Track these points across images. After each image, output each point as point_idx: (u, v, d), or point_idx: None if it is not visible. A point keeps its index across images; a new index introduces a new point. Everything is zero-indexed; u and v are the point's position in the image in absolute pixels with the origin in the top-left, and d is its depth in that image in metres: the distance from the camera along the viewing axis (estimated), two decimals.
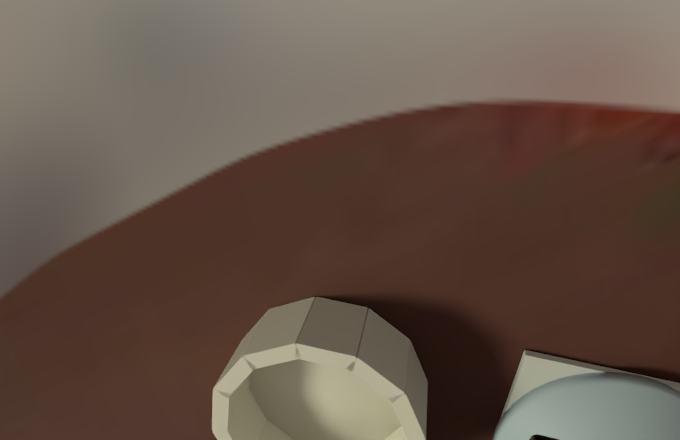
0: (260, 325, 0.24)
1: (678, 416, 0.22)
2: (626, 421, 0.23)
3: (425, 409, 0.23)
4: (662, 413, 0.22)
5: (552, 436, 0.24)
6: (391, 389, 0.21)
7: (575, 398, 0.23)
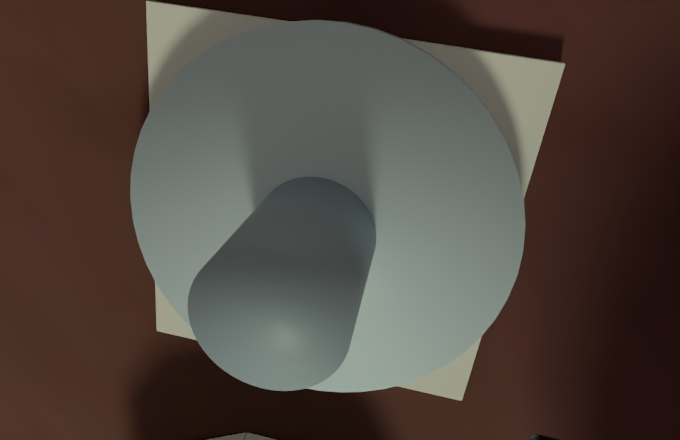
0: None
1: (168, 139, 0.13)
2: (202, 214, 0.13)
3: None
4: (170, 164, 0.13)
5: None
6: None
7: (180, 287, 0.14)
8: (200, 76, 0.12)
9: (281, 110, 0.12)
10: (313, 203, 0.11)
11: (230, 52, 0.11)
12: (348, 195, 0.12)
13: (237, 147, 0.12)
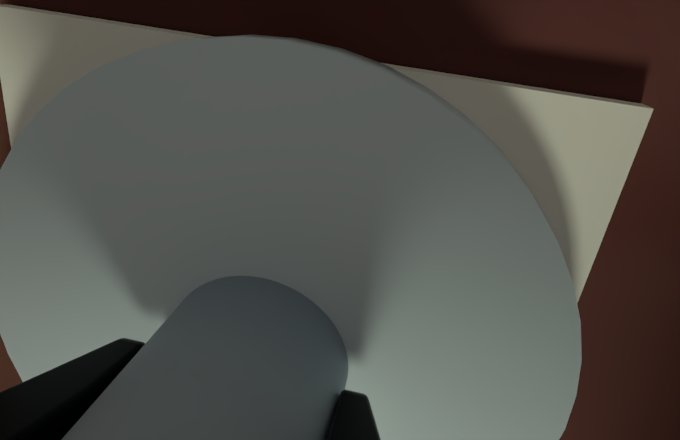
0: None
1: (31, 216, 0.08)
2: (91, 320, 0.09)
3: None
4: (39, 250, 0.09)
5: None
6: None
7: None
8: (67, 124, 0.07)
9: (195, 177, 0.07)
10: (235, 343, 0.06)
11: (108, 87, 0.07)
12: (302, 310, 0.08)
13: (133, 231, 0.08)
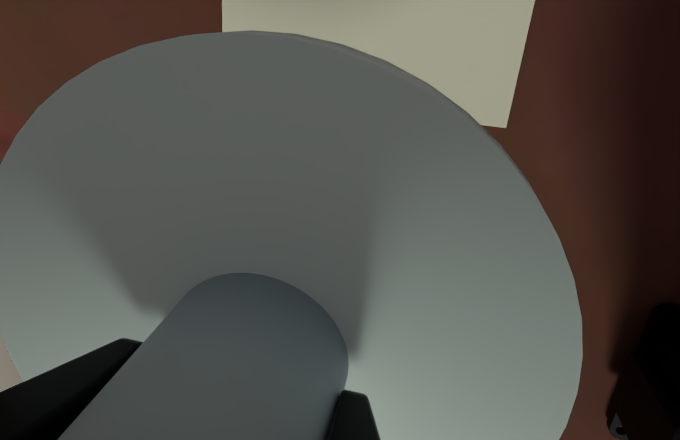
0: None
1: (30, 212, 0.08)
2: (91, 318, 0.09)
3: None
4: (38, 247, 0.09)
5: None
6: None
7: None
8: (67, 120, 0.07)
9: (194, 174, 0.07)
10: (235, 339, 0.06)
11: (108, 83, 0.07)
12: (302, 306, 0.08)
13: (133, 228, 0.08)
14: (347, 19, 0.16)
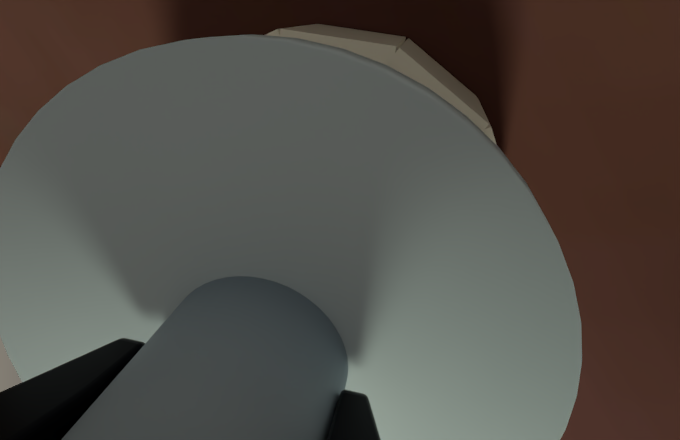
0: None
1: (30, 216, 0.08)
2: (91, 321, 0.09)
3: None
4: (38, 250, 0.09)
5: None
6: None
7: None
8: (67, 124, 0.07)
9: (194, 178, 0.07)
10: (235, 344, 0.06)
11: (108, 87, 0.07)
12: (302, 310, 0.08)
13: (133, 231, 0.08)
14: None
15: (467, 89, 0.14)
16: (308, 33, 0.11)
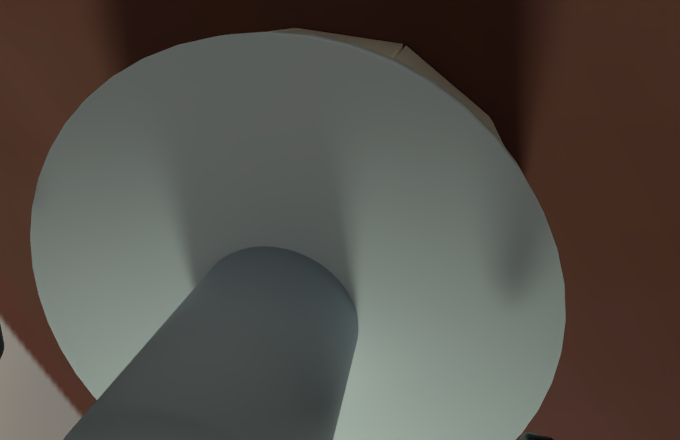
0: None
1: (74, 193, 0.09)
2: (126, 290, 0.10)
3: None
4: (80, 225, 0.10)
5: None
6: None
7: (105, 377, 0.11)
8: (111, 111, 0.08)
9: (223, 158, 0.08)
10: (263, 298, 0.07)
11: (149, 77, 0.08)
12: (318, 275, 0.09)
13: (167, 206, 0.09)
14: None
15: (478, 108, 0.11)
16: None
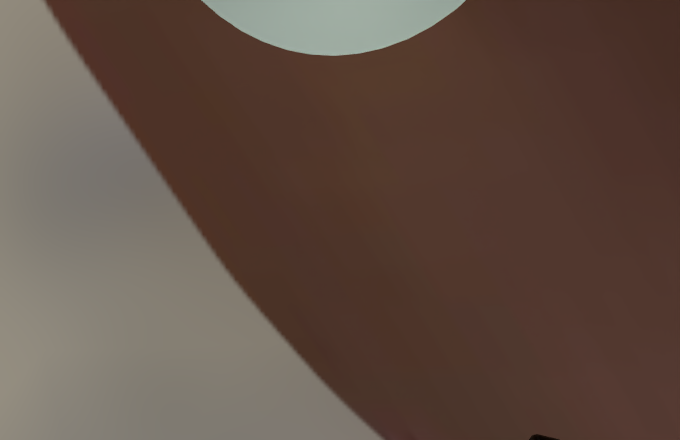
0: None
1: None
2: None
3: None
4: None
5: None
6: None
7: None
8: None
9: None
10: None
11: None
12: None
13: None
14: None
15: None
16: None
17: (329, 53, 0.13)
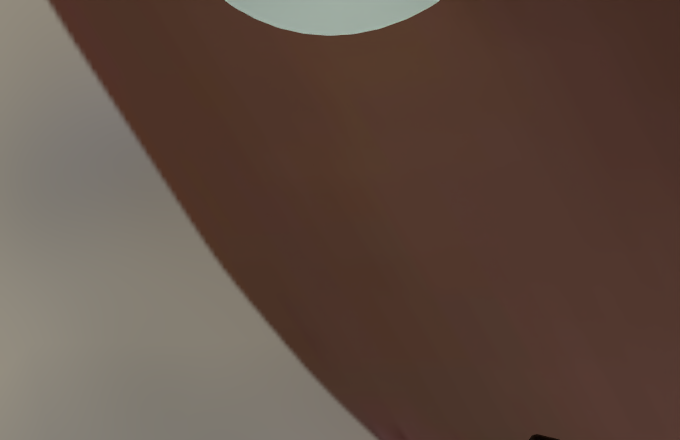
0: None
1: None
2: None
3: None
4: None
5: None
6: None
7: None
8: None
9: None
10: None
11: None
12: None
13: None
14: None
15: None
16: None
17: (324, 33, 0.13)
